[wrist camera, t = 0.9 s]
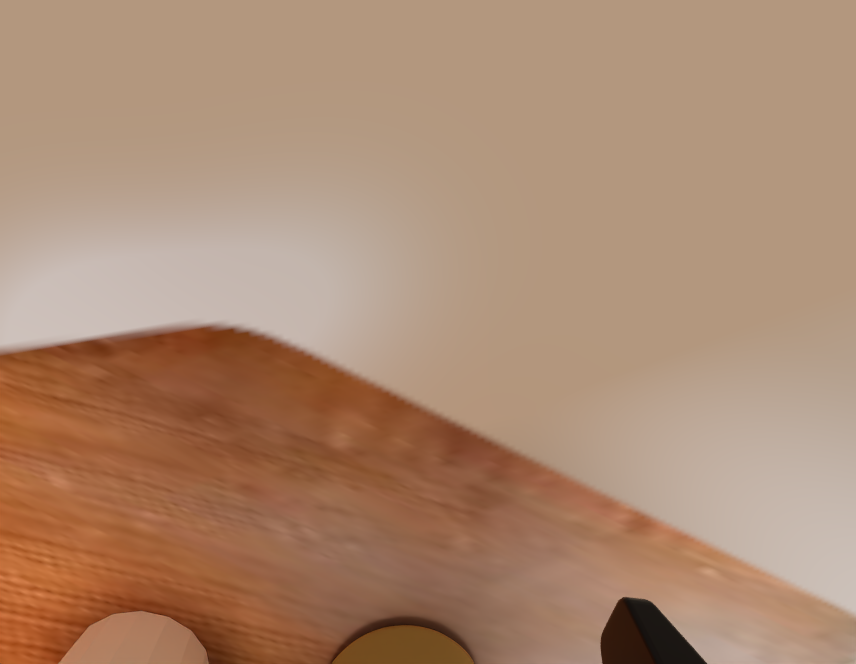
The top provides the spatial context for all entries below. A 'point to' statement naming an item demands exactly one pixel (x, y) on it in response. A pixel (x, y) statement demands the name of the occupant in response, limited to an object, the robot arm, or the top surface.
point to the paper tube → (403, 648)
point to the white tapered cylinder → (136, 642)
